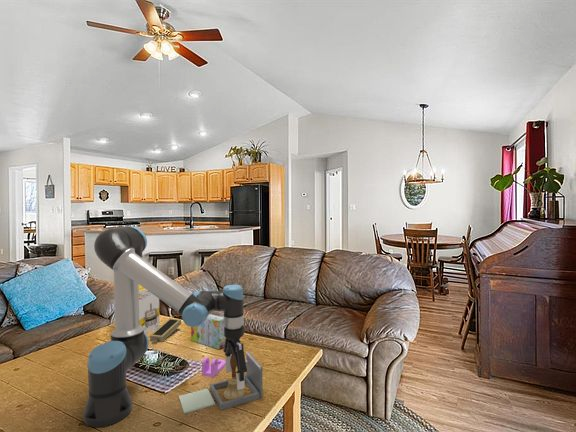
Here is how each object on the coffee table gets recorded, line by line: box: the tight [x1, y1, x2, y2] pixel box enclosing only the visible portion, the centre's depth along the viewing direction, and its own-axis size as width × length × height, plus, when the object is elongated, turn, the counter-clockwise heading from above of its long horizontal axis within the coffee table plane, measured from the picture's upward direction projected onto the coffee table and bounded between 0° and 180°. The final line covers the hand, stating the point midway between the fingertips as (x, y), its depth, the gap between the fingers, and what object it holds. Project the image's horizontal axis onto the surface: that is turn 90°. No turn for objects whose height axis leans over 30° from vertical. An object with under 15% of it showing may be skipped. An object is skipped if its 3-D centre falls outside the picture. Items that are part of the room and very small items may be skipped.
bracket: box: [201, 356, 226, 378], centre depth 147 cm, size 13×6×7 cm, turn 164°
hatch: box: [209, 350, 264, 411], centre depth 128 cm, size 16×15×12 cm
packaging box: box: [139, 285, 161, 334], centre depth 192 cm, size 16×16×25 cm
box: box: [149, 318, 182, 345], centre depth 184 cm, size 8×22×5 cm, turn 167°
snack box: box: [190, 313, 226, 351], centre depth 174 cm, size 21×6×15 cm, turn 58°
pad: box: [178, 388, 216, 415], centre depth 123 cm, size 11×11×1 cm
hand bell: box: [222, 353, 246, 401], centre depth 128 cm, size 8×8×16 cm
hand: (234, 379), depth 128 cm, fingers open, 13 cm apart
